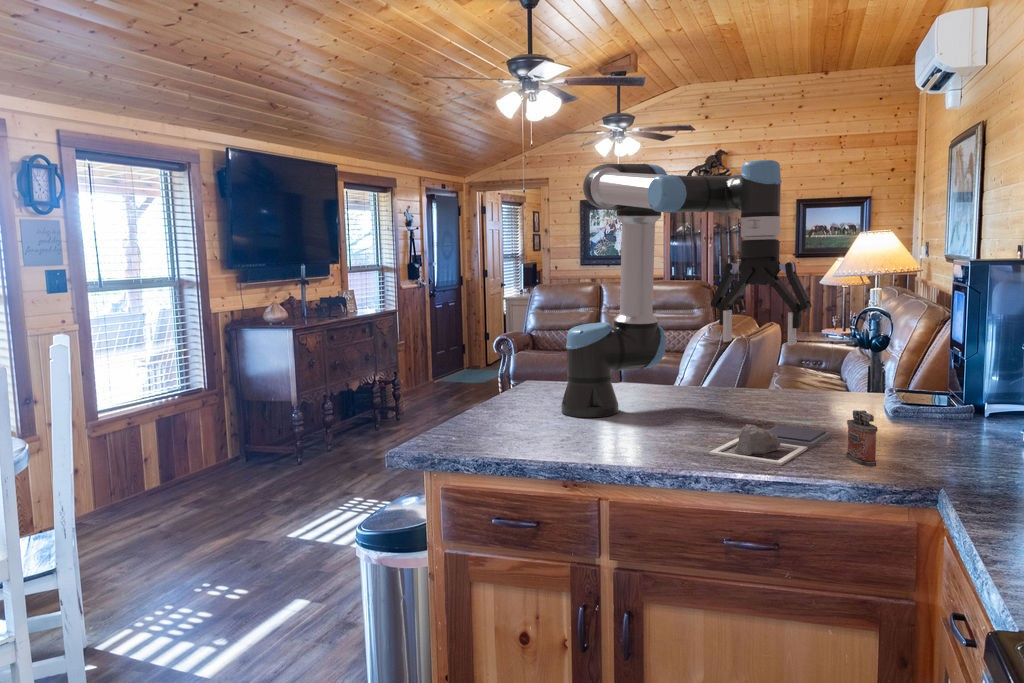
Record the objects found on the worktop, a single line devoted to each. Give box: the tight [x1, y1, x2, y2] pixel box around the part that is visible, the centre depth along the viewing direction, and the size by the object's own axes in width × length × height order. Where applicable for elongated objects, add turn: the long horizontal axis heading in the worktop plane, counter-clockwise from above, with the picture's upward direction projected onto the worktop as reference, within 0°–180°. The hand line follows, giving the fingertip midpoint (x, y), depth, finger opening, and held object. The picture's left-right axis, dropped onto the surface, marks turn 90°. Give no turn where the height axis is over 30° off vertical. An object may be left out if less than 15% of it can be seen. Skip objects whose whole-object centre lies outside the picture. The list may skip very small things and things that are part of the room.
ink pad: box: [766, 424, 831, 449], centre depth 169 cm, size 12×12×1 cm
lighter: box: [845, 409, 878, 468], centre depth 149 cm, size 8×3×10 cm, turn 5°
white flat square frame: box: [708, 437, 809, 466], centre depth 159 cm, size 15×15×1 cm
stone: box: [734, 423, 781, 456], centre depth 158 cm, size 10×8×6 cm
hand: (758, 343), depth 157 cm, fingers open, 13 cm apart
